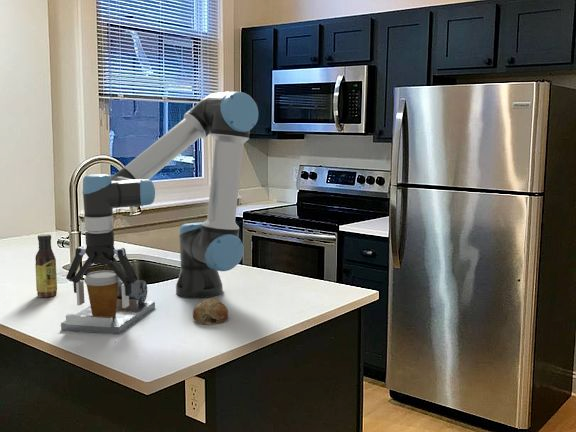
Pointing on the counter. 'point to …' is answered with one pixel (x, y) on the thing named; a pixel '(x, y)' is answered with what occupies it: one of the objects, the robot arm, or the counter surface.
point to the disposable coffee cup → (102, 292)
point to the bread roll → (210, 312)
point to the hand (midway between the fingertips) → (103, 305)
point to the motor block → (120, 320)
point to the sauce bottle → (45, 268)
